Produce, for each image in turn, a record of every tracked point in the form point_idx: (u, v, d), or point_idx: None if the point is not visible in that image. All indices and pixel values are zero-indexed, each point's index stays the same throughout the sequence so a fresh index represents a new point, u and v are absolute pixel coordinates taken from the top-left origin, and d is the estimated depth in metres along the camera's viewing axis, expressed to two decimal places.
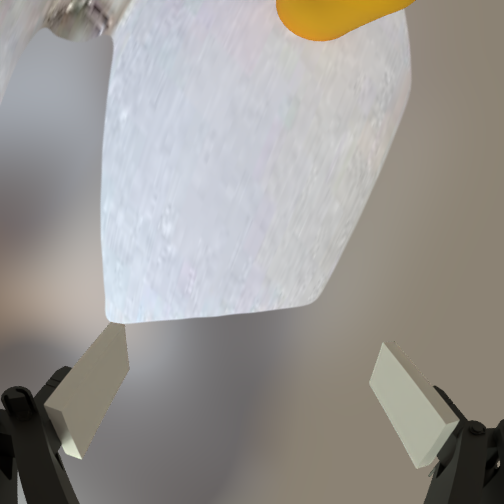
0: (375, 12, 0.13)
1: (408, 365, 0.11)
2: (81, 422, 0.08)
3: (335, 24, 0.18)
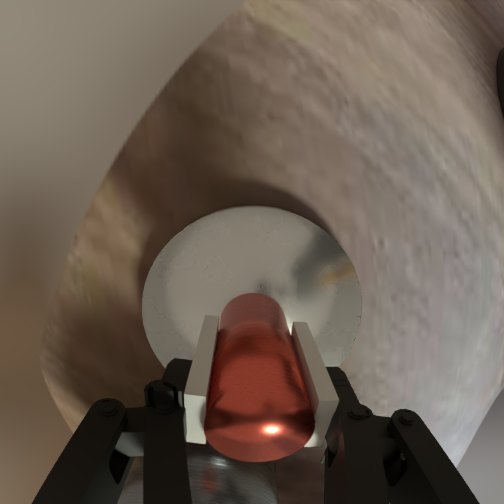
0: None
1: (308, 343, 0.13)
2: None
3: None
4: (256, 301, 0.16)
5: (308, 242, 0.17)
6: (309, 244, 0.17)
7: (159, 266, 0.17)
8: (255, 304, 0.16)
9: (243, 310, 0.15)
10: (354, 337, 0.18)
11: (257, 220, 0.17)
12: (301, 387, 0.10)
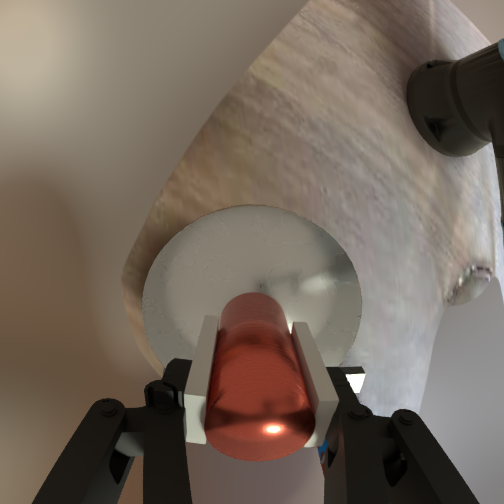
0: None
1: (308, 343, 0.13)
2: None
3: None
4: (256, 300, 0.16)
5: (308, 241, 0.17)
6: (309, 243, 0.17)
7: (159, 266, 0.17)
8: (255, 303, 0.16)
9: (243, 309, 0.15)
10: (354, 336, 0.18)
11: (257, 219, 0.17)
12: (301, 386, 0.10)
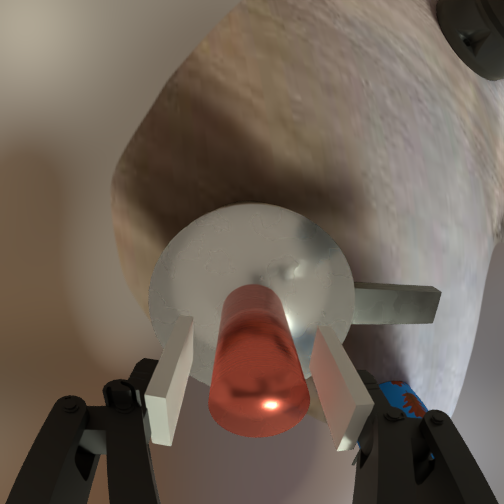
0: None
1: (336, 347, 0.13)
2: (173, 409, 0.10)
3: None
4: (256, 291, 0.18)
5: (304, 236, 0.18)
6: (305, 239, 0.18)
7: (165, 259, 0.18)
8: (255, 294, 0.17)
9: (244, 299, 0.17)
10: (348, 327, 0.20)
11: (256, 216, 0.18)
12: (296, 365, 0.11)
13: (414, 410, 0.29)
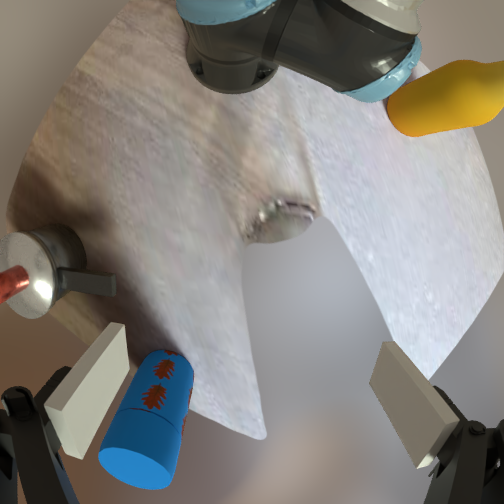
0: None
1: (408, 365, 0.11)
2: (81, 422, 0.08)
3: None
4: (13, 267, 0.34)
5: (28, 245, 0.34)
6: (28, 246, 0.34)
7: None
8: (11, 267, 0.33)
9: (7, 269, 0.33)
10: (51, 288, 0.36)
11: (15, 237, 0.34)
12: None
13: (158, 371, 0.45)
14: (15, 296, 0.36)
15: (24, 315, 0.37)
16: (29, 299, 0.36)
